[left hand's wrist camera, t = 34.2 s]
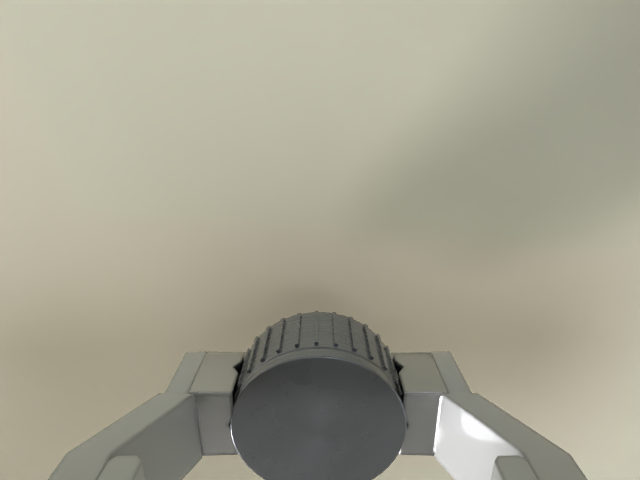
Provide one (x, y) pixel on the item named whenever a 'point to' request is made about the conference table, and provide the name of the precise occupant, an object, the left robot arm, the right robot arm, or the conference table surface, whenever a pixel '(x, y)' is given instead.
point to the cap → (318, 401)
